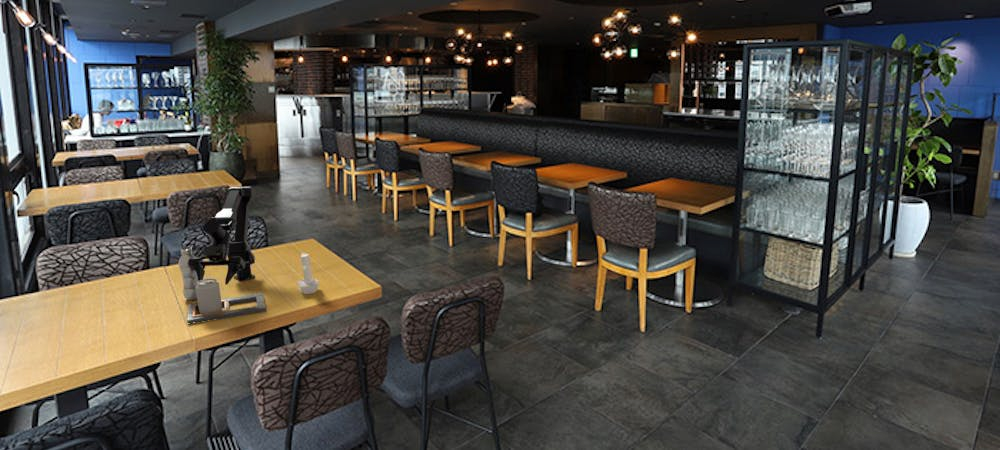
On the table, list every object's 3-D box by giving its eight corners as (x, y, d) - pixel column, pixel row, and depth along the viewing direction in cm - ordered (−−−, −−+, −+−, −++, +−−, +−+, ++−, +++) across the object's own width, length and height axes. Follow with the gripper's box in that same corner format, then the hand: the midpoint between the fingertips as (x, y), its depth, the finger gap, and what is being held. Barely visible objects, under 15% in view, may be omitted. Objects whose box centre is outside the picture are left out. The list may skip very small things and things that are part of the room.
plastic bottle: (207, 296, 228) (200, 246, 223) (193, 303, 222) (185, 251, 217) (194, 294, 230) (186, 244, 225) (180, 300, 224) (171, 250, 219)
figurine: (300, 297, 227) (296, 259, 223) (297, 289, 235) (293, 252, 231) (320, 294, 230) (316, 257, 225) (316, 286, 238) (313, 250, 234)
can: (211, 317, 209) (206, 285, 206) (194, 315, 212) (189, 283, 208) (227, 309, 216) (223, 278, 213) (211, 307, 218) (206, 276, 215)
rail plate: (262, 296, 227) (262, 292, 227) (265, 311, 214) (265, 306, 214) (189, 308, 217) (188, 303, 217) (187, 324, 204) (187, 319, 204)
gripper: (185, 236, 216) (176, 276, 209) (238, 235, 217) (231, 274, 210) (197, 250, 226) (189, 288, 218) (248, 248, 227) (242, 287, 220)
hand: (213, 284), depth 216 cm, fingers open, 9 cm apart
